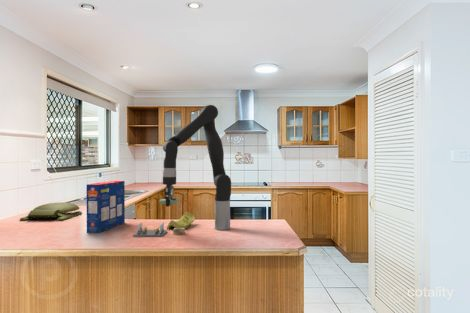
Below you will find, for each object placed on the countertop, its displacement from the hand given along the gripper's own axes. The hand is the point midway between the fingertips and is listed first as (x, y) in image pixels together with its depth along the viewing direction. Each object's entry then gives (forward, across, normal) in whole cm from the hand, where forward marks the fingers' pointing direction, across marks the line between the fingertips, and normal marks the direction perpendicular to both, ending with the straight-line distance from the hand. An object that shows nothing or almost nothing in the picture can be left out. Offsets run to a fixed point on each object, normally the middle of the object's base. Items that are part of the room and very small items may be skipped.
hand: (169, 205), depth 185 cm
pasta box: (+17, +17, +42) cm, 48 cm away
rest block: (+16, +1, -6) cm, 17 cm away
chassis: (+16, 0, +10) cm, 19 cm away
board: (-1, 0, 0) cm, 1 cm away
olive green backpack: (+19, +54, +95) cm, 110 cm away
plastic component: (+16, +19, -5) cm, 26 cm away
